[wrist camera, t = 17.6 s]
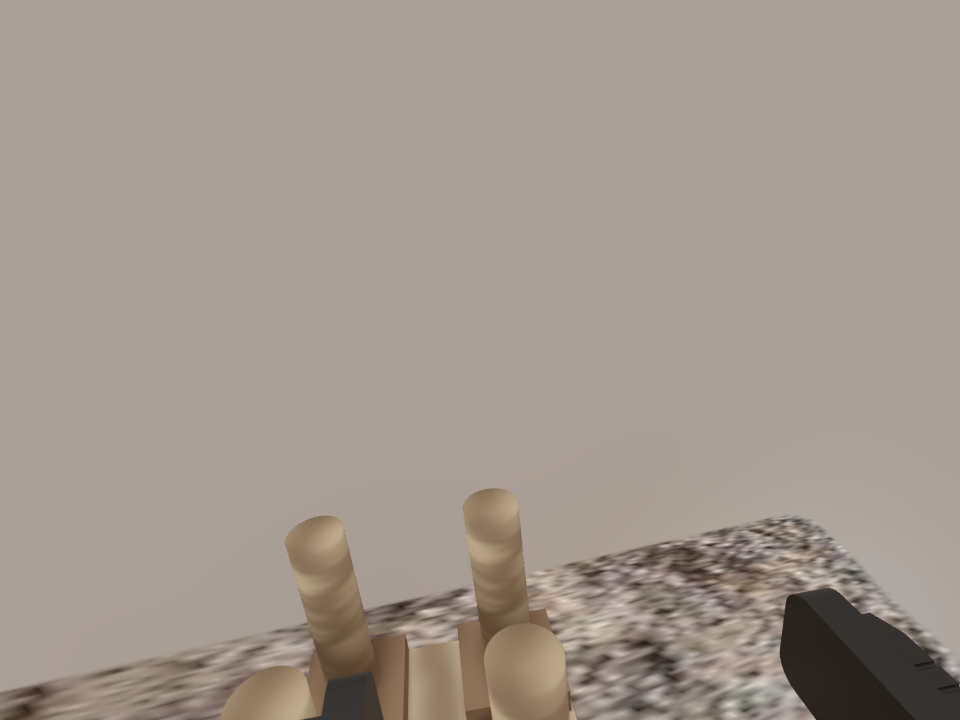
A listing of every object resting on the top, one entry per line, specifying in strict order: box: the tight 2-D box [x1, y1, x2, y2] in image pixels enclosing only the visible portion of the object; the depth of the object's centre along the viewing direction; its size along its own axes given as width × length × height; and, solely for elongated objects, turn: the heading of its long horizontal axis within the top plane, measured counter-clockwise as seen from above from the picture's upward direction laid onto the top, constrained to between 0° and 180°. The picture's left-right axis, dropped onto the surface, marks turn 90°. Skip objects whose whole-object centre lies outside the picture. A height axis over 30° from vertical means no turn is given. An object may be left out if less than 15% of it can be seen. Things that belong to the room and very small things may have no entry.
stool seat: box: [220, 489, 577, 720], centre depth 33 cm, size 20×20×19 cm
